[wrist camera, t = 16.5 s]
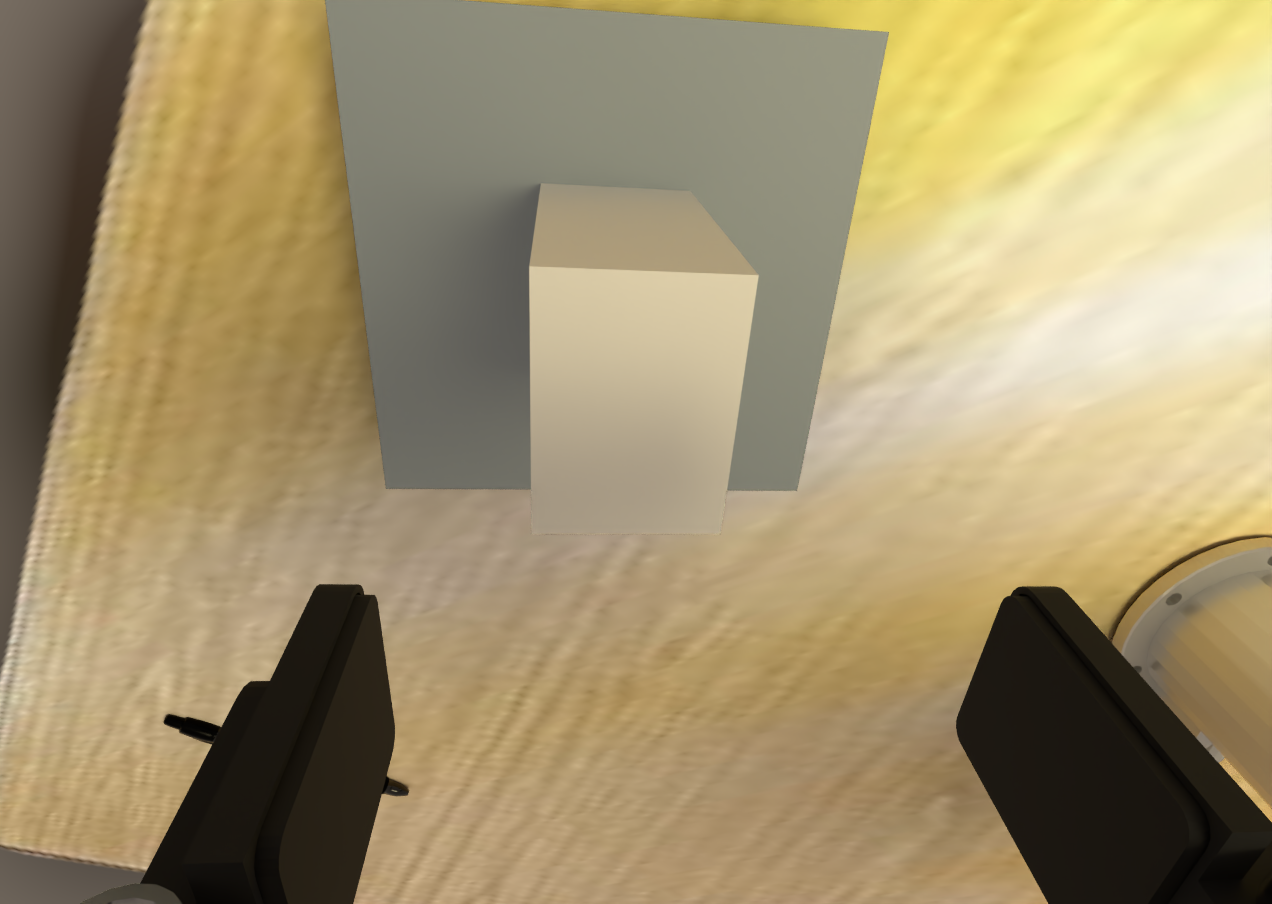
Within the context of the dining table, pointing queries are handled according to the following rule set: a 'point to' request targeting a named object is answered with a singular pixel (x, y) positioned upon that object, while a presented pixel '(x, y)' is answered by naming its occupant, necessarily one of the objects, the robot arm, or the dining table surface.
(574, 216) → the carton
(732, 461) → the podium
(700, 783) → the dining table surface
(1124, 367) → the dining table surface
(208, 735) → the pen
